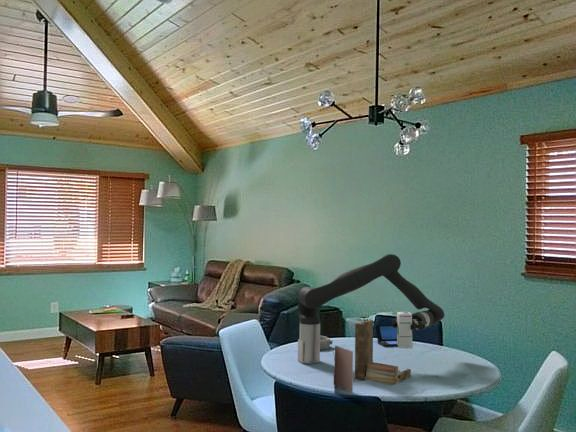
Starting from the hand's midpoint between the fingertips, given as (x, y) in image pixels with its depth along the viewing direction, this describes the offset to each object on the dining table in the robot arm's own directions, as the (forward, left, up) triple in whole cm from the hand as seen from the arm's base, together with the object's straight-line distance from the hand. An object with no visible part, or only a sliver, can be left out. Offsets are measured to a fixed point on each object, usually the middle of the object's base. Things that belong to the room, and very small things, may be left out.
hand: (402, 326), depth 228 cm
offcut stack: (-14, -10, -19) cm, 26 cm away
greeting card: (-35, -15, -19) cm, 42 cm away
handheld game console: (+24, +49, -19) cm, 58 cm away
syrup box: (+2, +1, -9) cm, 9 cm away
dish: (-18, +53, -19) cm, 59 cm away
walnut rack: (-12, -6, -19) cm, 24 cm away
